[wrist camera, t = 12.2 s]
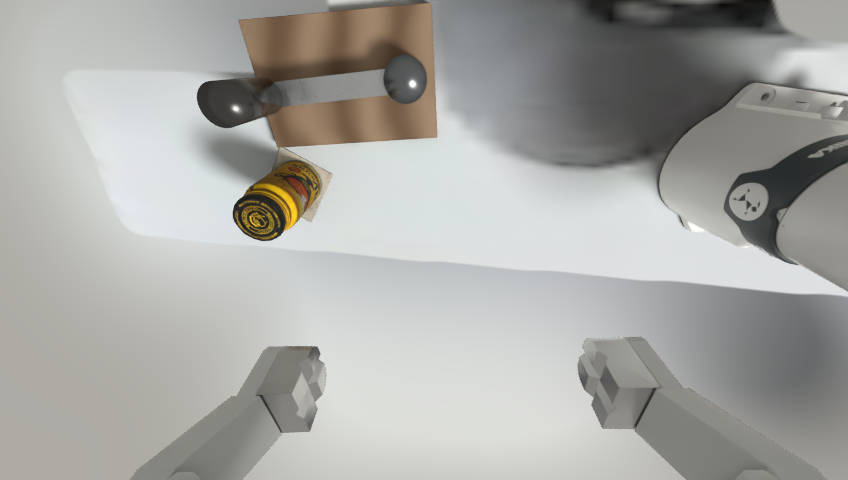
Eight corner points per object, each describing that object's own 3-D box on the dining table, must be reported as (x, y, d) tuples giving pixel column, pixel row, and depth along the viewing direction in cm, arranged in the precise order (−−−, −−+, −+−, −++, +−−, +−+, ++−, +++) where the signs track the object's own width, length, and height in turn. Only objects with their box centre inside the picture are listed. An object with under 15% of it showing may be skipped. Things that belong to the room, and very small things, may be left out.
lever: (425, 53, 32) (422, 48, 23) (429, 98, 34) (427, 111, 25) (253, 73, 33) (186, 78, 24) (268, 116, 35) (211, 134, 26)
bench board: (431, 5, 31) (431, 2, 30) (437, 134, 38) (437, 137, 37) (246, 21, 32) (238, 20, 31) (282, 144, 39) (277, 147, 38)
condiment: (333, 174, 41) (299, 211, 31) (311, 221, 45) (274, 269, 34) (281, 145, 39) (226, 175, 29) (263, 197, 43) (209, 240, 33)
